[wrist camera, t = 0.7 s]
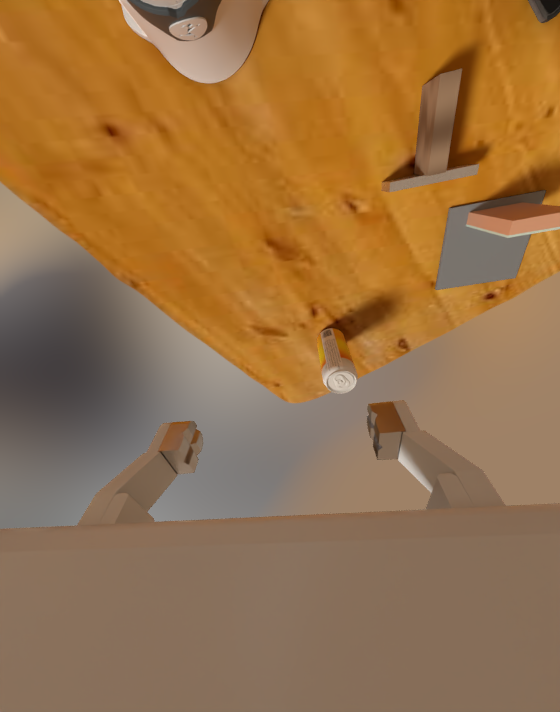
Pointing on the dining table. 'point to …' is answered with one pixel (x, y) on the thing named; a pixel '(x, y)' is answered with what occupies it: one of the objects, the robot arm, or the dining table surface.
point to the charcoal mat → (480, 247)
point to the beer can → (336, 361)
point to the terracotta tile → (516, 219)
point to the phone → (545, 9)
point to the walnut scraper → (435, 135)
